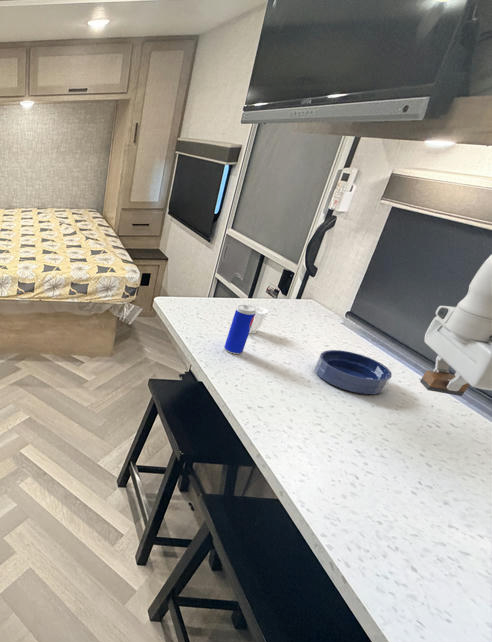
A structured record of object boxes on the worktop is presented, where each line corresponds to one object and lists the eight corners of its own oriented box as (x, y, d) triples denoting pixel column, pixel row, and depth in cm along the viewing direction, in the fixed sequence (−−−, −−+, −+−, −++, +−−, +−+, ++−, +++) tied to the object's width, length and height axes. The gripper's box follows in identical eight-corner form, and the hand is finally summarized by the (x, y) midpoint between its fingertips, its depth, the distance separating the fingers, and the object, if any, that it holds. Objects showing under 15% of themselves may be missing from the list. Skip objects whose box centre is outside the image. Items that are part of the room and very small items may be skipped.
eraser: (452, 387, 86) (460, 375, 85) (461, 396, 83) (469, 384, 82) (419, 381, 88) (426, 370, 86) (427, 390, 85) (434, 378, 84)
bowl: (371, 371, 115) (379, 356, 112) (392, 401, 103) (402, 386, 100) (308, 360, 120) (314, 346, 118) (321, 387, 108) (328, 372, 106)
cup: (261, 329, 138) (269, 308, 134) (258, 340, 131) (266, 319, 127) (239, 323, 142) (245, 303, 138) (234, 334, 135) (241, 313, 131)
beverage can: (243, 356, 123) (258, 312, 116) (225, 353, 124) (238, 310, 117) (240, 347, 127) (254, 305, 120) (222, 345, 129) (235, 303, 122)
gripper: (542, 354, 69) (495, 416, 75) (472, 307, 85) (439, 361, 92) (492, 347, 71) (451, 407, 77) (434, 303, 87) (404, 356, 94)
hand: (444, 382), depth 85 cm, fingers closed on eraser, 3 cm apart
